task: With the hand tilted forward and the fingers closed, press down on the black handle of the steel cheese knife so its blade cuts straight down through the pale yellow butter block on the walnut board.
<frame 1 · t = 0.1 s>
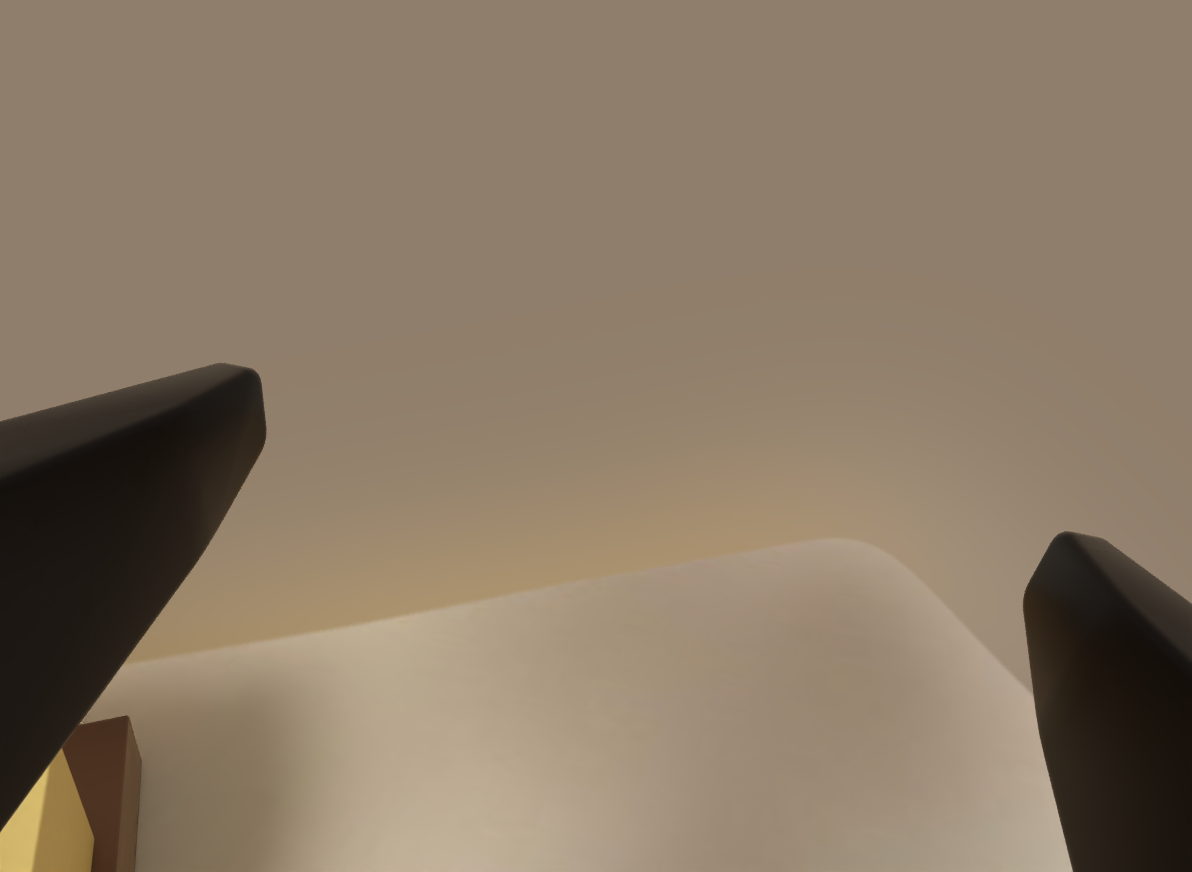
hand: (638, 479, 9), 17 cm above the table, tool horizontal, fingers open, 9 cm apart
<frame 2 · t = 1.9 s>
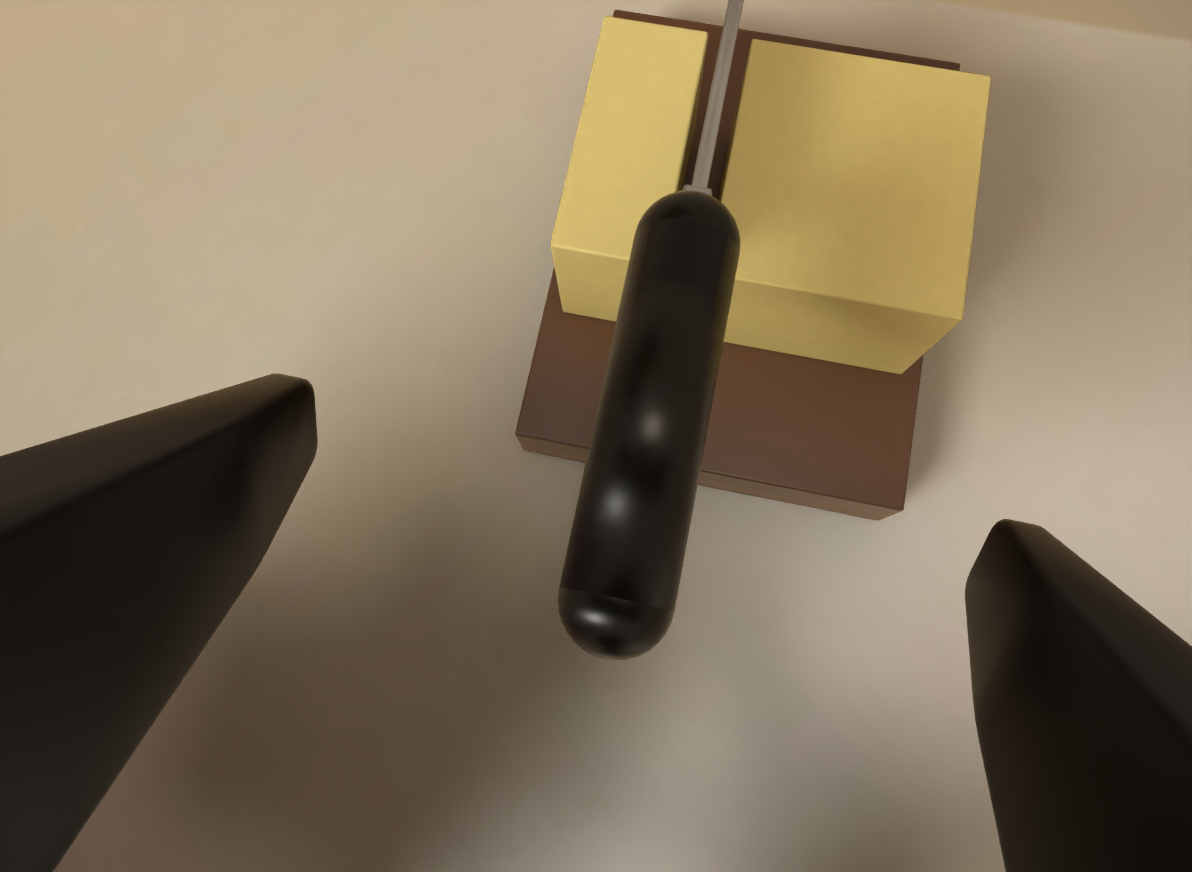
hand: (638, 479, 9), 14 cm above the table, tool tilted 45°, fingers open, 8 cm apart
board: (737, 271, 24), on the table
butter: (759, 203, 20), on the board, point 4 cm above the table
knife: (696, 202, 16), point 8 cm above the table, slide at 0.0 cm
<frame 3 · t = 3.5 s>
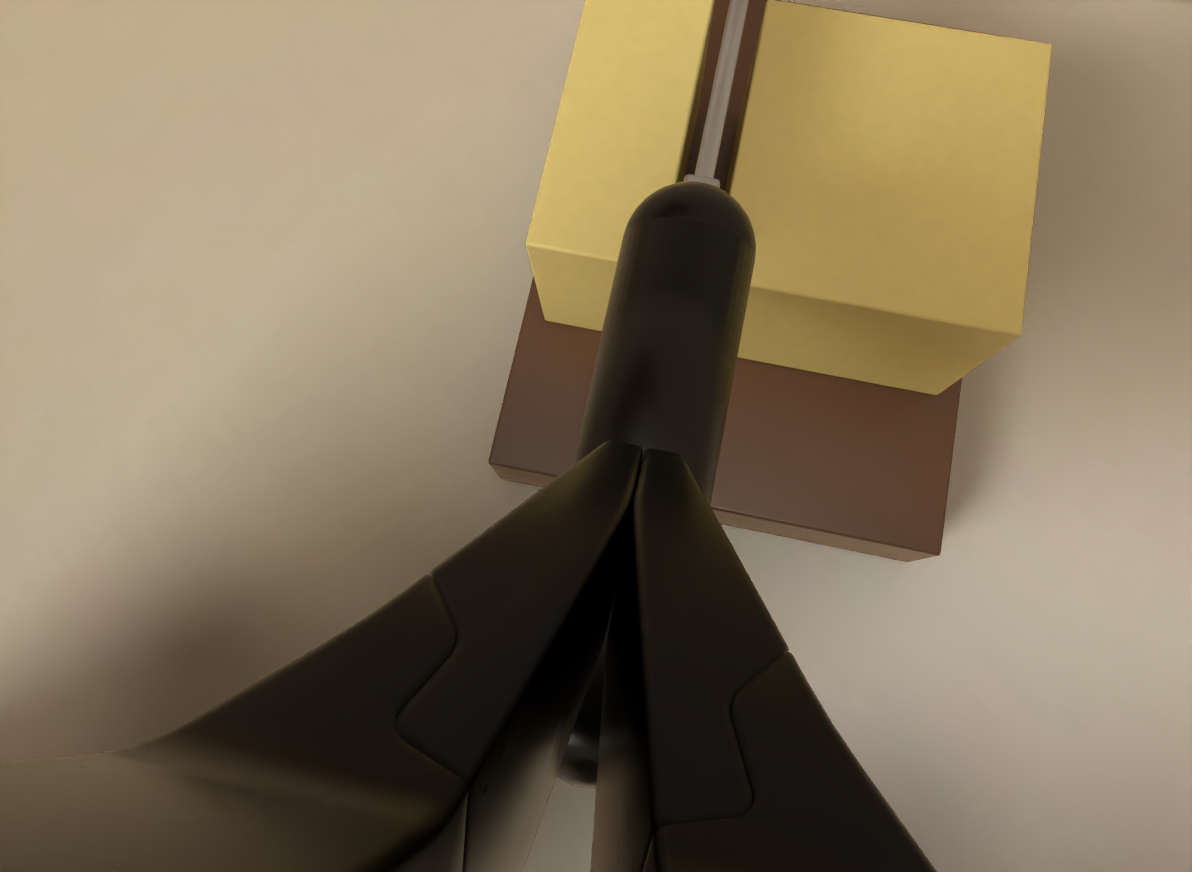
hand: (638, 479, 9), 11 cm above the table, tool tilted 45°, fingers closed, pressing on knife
board: (746, 273, 21), on the table
butter: (774, 195, 17), on the board, point 4 cm above the table
knife: (700, 196, 13), point 8 cm above the table, slide at -0.2 cm, touching gripper
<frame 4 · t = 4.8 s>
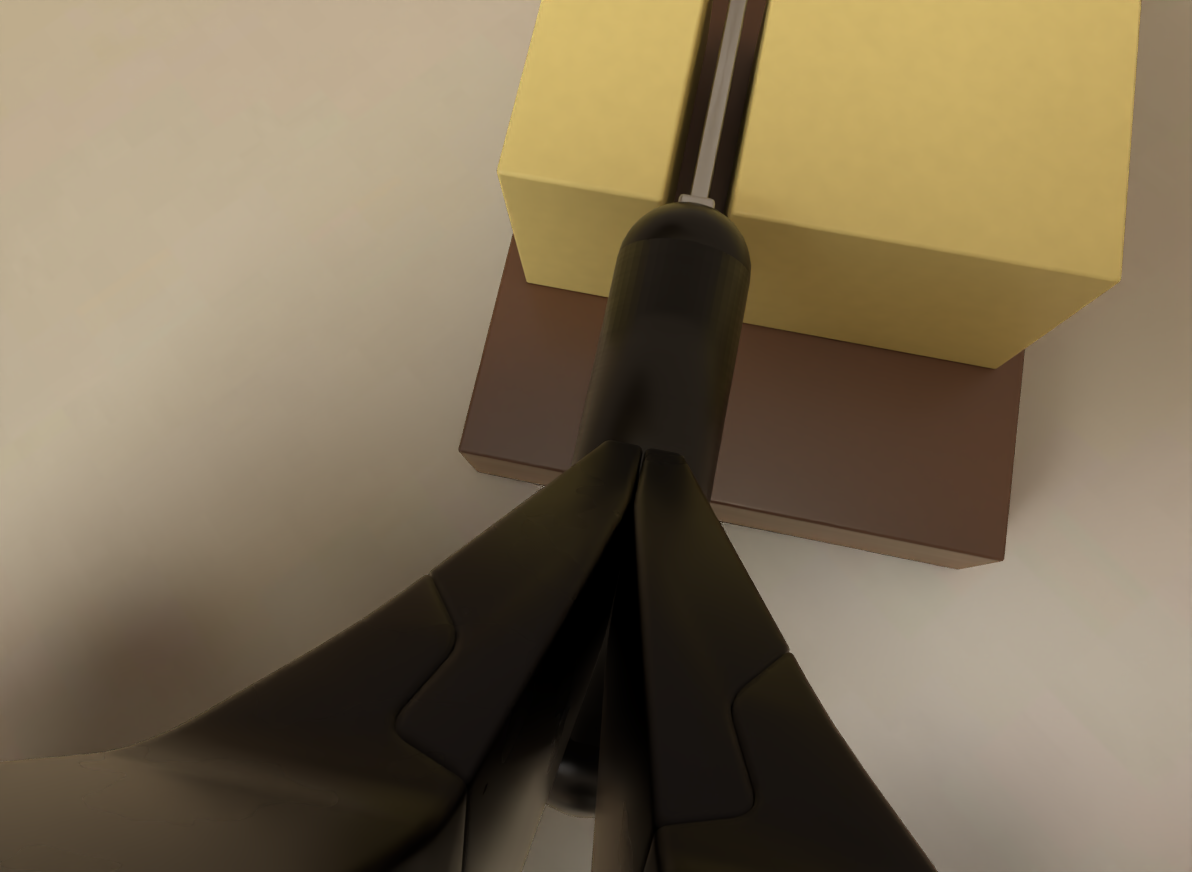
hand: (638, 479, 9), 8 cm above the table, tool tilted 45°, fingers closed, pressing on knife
board: (763, 233, 18), on the table
butter: (801, 125, 14), on the board, point 4 cm above the table
knife: (695, 215, 13), point 5 cm above the table, slide at -3.2 cm, touching gripper
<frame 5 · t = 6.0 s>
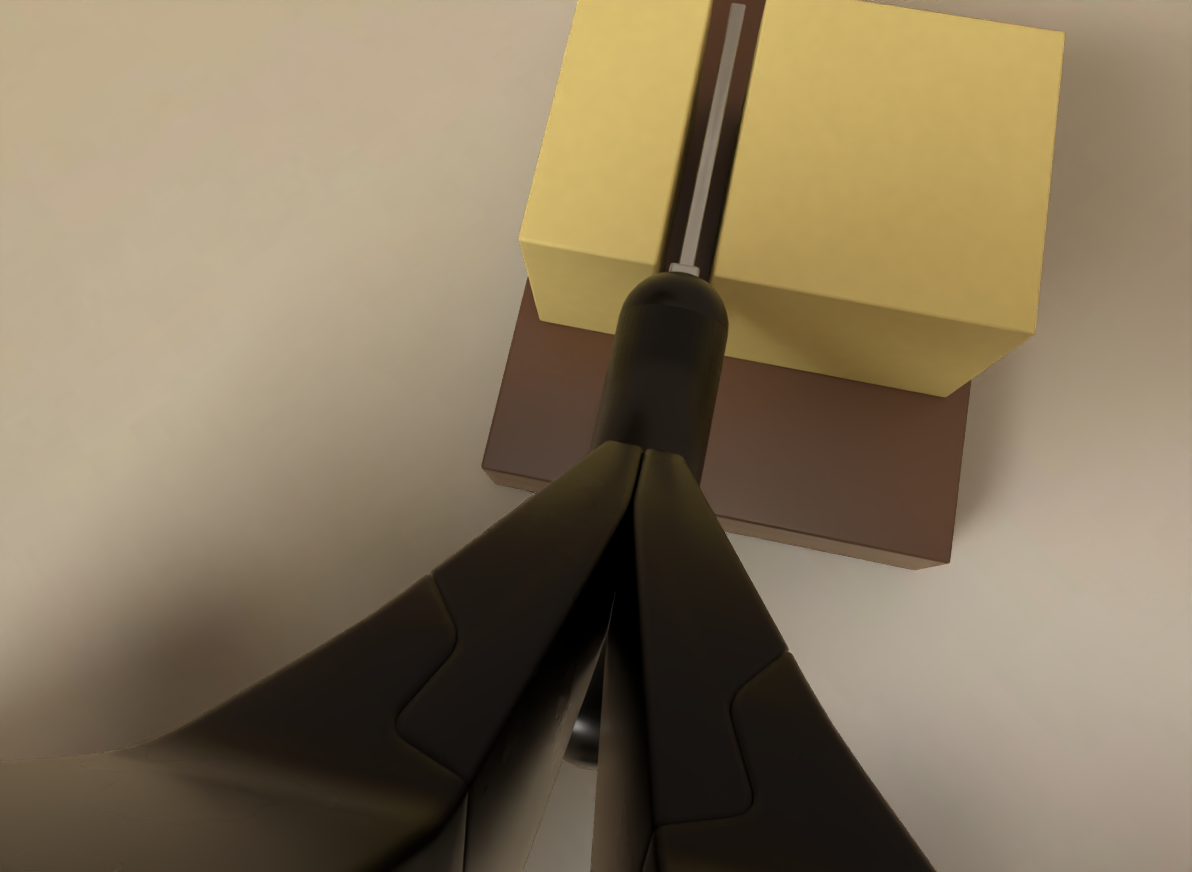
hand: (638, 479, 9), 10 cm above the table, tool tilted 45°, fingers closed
board: (748, 272, 21), on the table
butter: (777, 190, 17), on the board, point 4 cm above the table
knife: (685, 271, 16), point 5 cm above the table, slide at -3.2 cm
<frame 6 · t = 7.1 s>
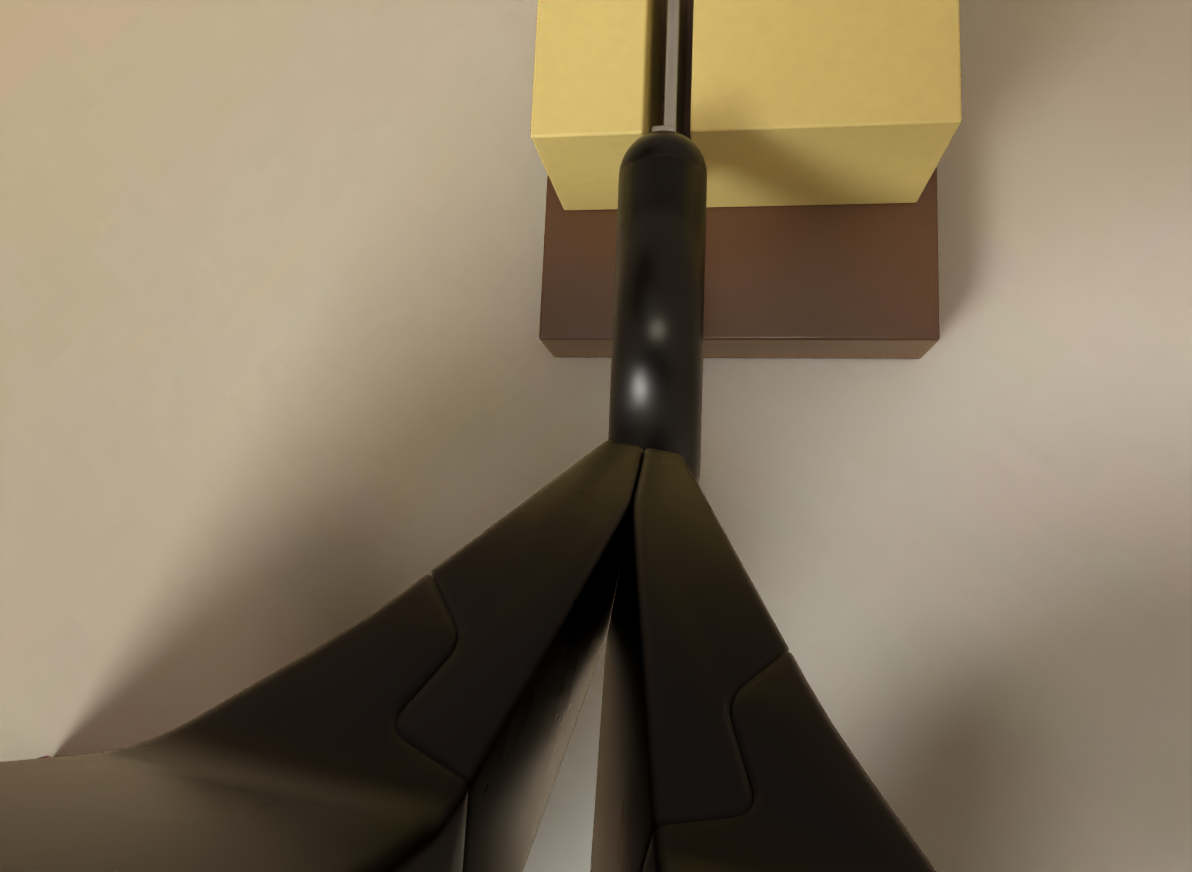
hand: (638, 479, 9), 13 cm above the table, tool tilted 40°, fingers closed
board: (735, 136, 24), on the table
butter: (738, 54, 20), on the board, point 4 cm above the table
knife: (670, 136, 19), point 5 cm above the table, slide at -3.2 cm
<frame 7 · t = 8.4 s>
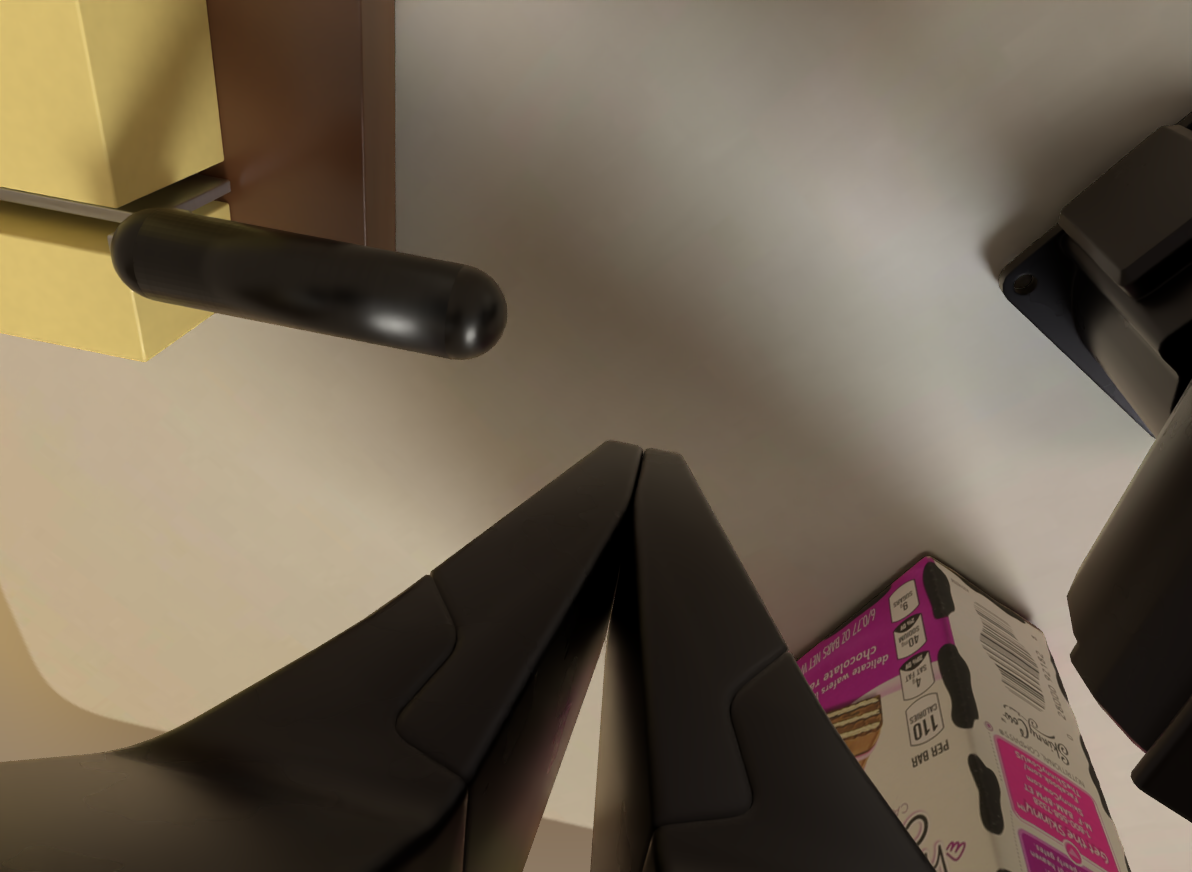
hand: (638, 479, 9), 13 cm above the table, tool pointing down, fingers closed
board: (152, 82, 21), on the table
butter: (38, 112, 18), on the board, point 4 cm above the table
knife: (134, 212, 18), point 5 cm above the table, slide at -3.2 cm
candy bar box: (855, 675, 28), on the table
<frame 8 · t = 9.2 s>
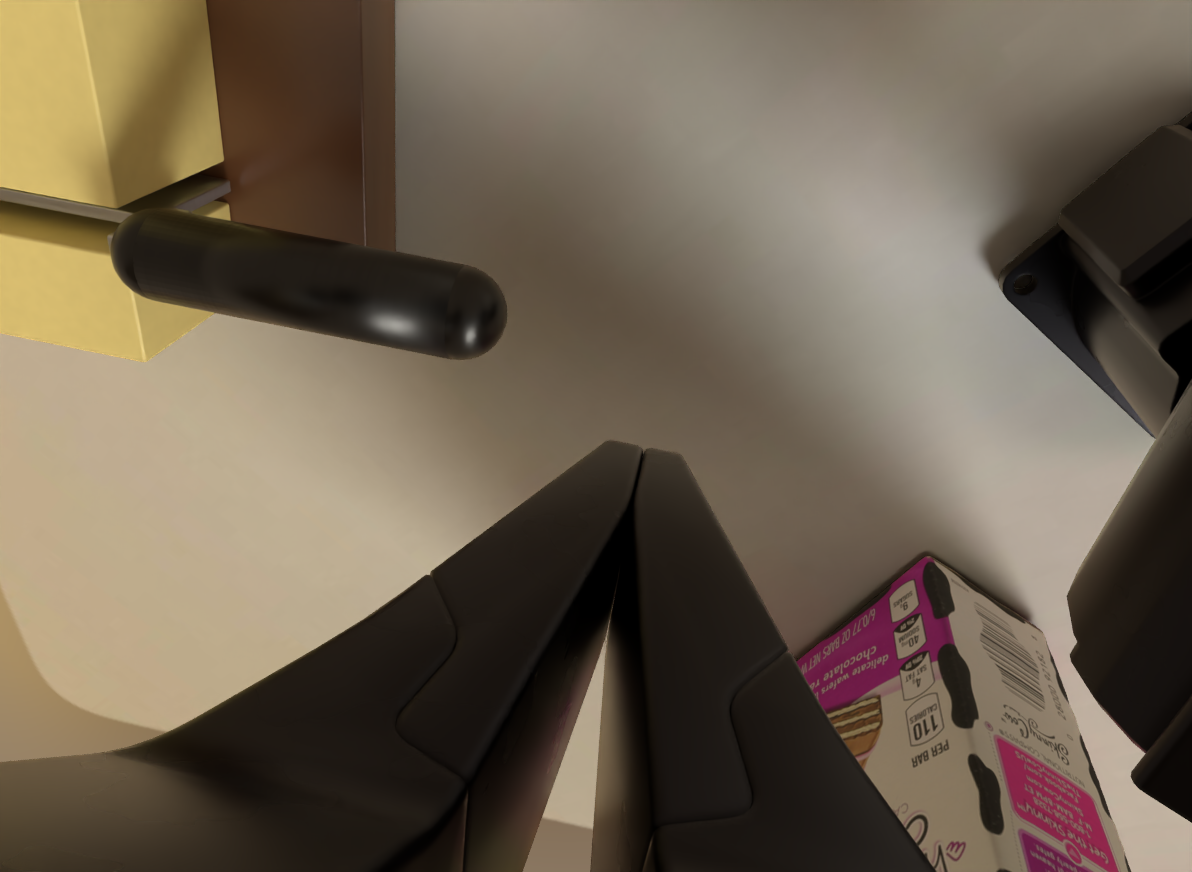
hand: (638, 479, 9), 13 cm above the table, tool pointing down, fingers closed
board: (152, 83, 21), on the table
butter: (38, 113, 18), on the board, point 4 cm above the table
knife: (133, 213, 18), point 5 cm above the table, slide at -3.2 cm
candy bar box: (855, 675, 28), on the table
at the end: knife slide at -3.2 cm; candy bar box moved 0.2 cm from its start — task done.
